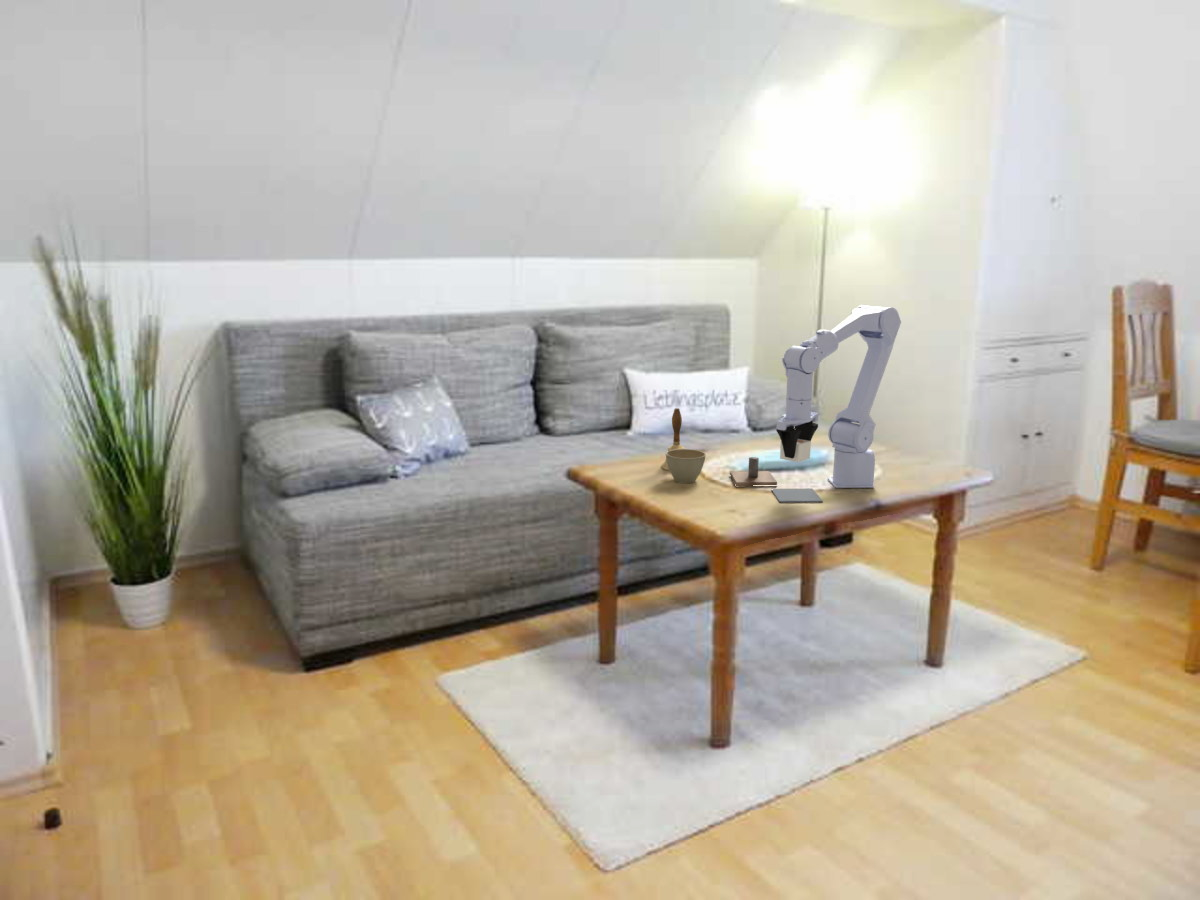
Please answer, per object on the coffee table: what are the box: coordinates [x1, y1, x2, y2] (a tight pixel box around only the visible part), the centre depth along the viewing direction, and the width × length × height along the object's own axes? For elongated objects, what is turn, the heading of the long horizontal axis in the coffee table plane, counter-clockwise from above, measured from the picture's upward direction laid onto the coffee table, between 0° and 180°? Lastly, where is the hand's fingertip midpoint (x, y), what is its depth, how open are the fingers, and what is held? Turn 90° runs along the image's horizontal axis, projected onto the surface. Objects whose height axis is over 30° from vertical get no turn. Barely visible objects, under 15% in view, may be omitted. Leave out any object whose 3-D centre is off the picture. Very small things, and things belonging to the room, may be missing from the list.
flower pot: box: [665, 448, 707, 484], centre depth 216 cm, size 10×10×7 cm
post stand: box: [729, 456, 778, 487], centre depth 215 cm, size 10×10×6 cm
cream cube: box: [779, 439, 812, 463], centre depth 201 cm, size 5×5×4 cm
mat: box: [771, 487, 824, 504], centre depth 203 cm, size 10×10×1 cm
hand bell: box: [660, 408, 686, 472], centre depth 227 cm, size 8×8×16 cm
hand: (796, 455), depth 202 cm, fingers closed on cream cube, 5 cm apart
